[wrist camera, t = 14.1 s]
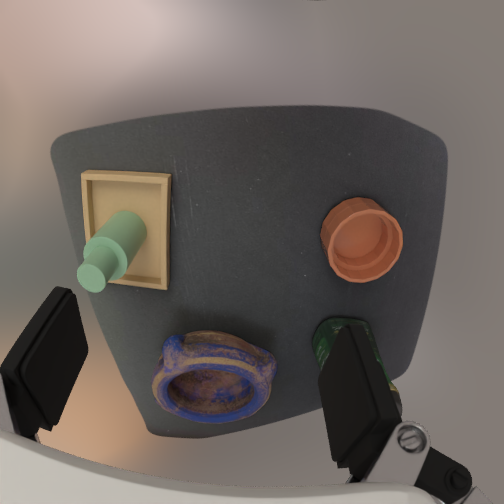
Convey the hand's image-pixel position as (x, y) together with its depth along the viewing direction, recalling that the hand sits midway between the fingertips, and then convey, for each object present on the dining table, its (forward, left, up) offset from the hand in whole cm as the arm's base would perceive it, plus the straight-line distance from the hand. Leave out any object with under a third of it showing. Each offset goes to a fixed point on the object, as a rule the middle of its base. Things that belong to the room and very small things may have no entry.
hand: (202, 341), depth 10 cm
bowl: (+31, 0, -30) cm, 43 cm away
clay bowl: (+7, +17, -29) cm, 35 cm away
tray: (+10, -13, -29) cm, 34 cm away
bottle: (+10, -13, -29) cm, 33 cm away
